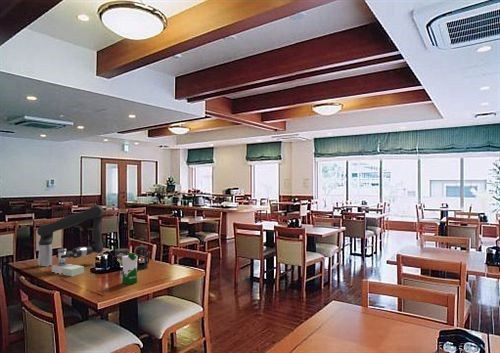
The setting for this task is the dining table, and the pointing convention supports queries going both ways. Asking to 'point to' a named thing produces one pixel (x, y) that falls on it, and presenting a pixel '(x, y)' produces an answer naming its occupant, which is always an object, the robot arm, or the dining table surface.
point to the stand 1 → (59, 268)
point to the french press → (141, 265)
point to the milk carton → (129, 268)
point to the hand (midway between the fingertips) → (59, 256)
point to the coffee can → (121, 254)
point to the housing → (61, 260)
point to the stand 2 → (73, 270)
